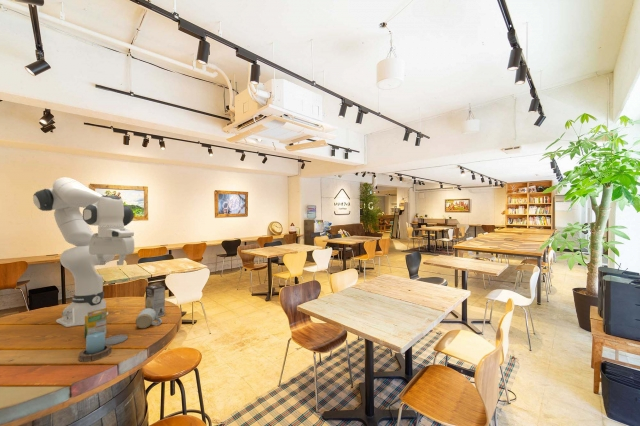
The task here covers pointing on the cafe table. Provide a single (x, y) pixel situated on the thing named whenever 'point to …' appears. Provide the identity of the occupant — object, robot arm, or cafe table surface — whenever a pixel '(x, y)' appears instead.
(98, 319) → the crayon box
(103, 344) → the blue pot
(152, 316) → the ceramic mug
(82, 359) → the ring holder
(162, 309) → the coffee box
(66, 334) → the cafe table surface
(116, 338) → the coaster
